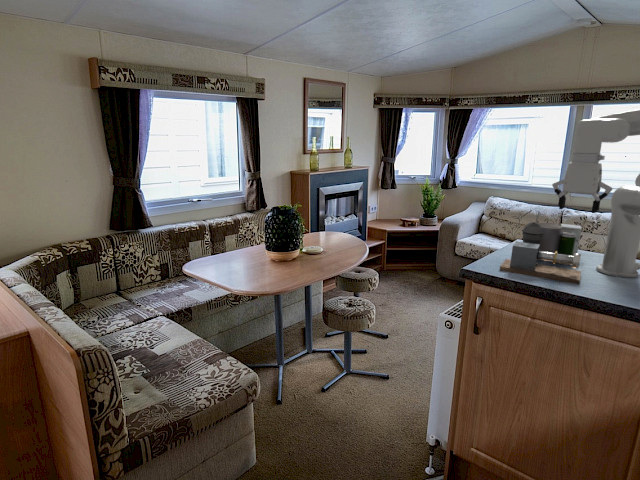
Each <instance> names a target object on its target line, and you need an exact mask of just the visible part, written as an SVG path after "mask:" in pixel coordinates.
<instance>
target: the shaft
mask: <svg viewBox="0 0 640 480" xmlns="http://www.w3.org/2000/svg"><path fill="white" fill-rule="evenodd" d="M557 253H558V251H555V253H550V252H543V251H538V252H537V259H540V260H547V261H546V262H552V263H553V265H556V263H557V262H559V263H566V264H570V265H571V268H573V269H579V267H580V262H581V256H582V254H581V253H578V252H577V253H574V256H570V255H564V254H557ZM540 260H539V261H540ZM559 263H558V264H559Z"/></svg>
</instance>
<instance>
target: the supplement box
mask: <svg viewBox="0 0 640 480" xmlns="http://www.w3.org/2000/svg"><path fill="white" fill-rule="evenodd" d="M559 226H561V227H562V230H561V232H571V233H575V234H576V240H575V246H574V252H573V256H574V253H578V251H579V247H580V246H579V245H580V240H581V236H582V235H581V234H582V230H583V228H582V226H581V225H577V224H568V223H567V224H566V223H560V224H559Z"/></svg>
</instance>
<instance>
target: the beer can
mask: <svg viewBox="0 0 640 480" xmlns="http://www.w3.org/2000/svg"><path fill="white" fill-rule="evenodd" d="M575 240H576V234H575V233H571V232H561V234H560V239H559V245H558V253H557V254H564V255H570V256H573V252H574V246H575ZM556 263H557V264H559V265H563V266H568V265H571V264H566V263H559V262H556Z"/></svg>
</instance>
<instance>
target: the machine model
mask: <svg viewBox="0 0 640 480" xmlns="http://www.w3.org/2000/svg"><path fill="white" fill-rule="evenodd" d="M511 248H512V249H511V256H510V258H509V259H508V258H506V259H505V260H504V261H503V262H502V263H501V265H500V266H499V271H501V272H507V273H512V274H517V275H524V276H528V277H529V276H530V277H533V278H534V277H535V278H541V279H545V280H551V281H556V282H561V283H569V284H575V285H578V286H579V285H580V283H581V282H580V280H581V274H582V270H576V269H570V268H565V267H557V266H552V265H546V264H541V263H540V264H539V263H538V261H539V260H538V259H537V252H538V251H539V249H540V244H533V243H525V242H523V241H517V240H516V241H515V243H513V245H512V247H511Z"/></svg>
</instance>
